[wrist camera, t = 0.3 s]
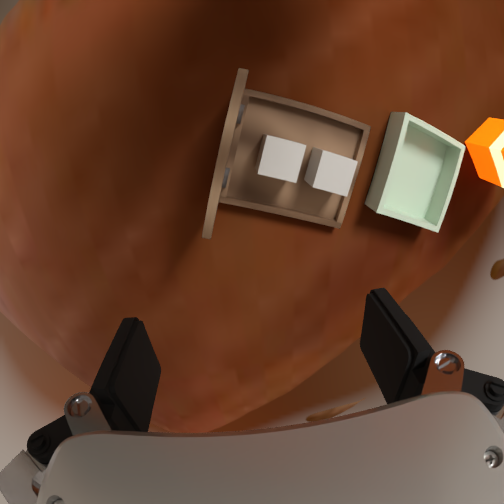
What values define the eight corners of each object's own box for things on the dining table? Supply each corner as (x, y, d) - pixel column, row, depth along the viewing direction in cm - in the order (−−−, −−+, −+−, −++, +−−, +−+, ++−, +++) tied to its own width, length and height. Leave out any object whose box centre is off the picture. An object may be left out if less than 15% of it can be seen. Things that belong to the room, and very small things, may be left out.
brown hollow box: (237, 88, 32) (238, 67, 19) (365, 126, 34) (424, 132, 22) (213, 197, 38) (201, 237, 25) (336, 224, 40) (377, 271, 28)
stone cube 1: (263, 133, 34) (267, 135, 30) (298, 142, 34) (306, 145, 30) (254, 167, 36) (257, 173, 32) (289, 176, 36) (296, 183, 32)
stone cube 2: (313, 146, 35) (323, 150, 31) (344, 156, 35) (357, 161, 31) (304, 179, 37) (312, 187, 32) (335, 188, 37) (347, 196, 33)
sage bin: (390, 112, 33) (405, 112, 30) (449, 142, 35) (465, 146, 31) (364, 203, 39) (376, 212, 35) (424, 223, 41) (438, 232, 37)
